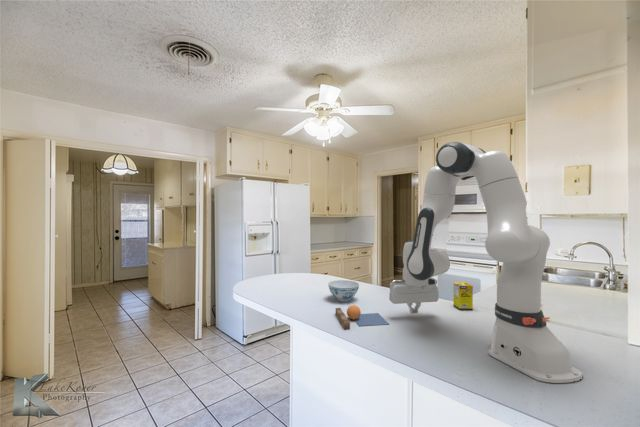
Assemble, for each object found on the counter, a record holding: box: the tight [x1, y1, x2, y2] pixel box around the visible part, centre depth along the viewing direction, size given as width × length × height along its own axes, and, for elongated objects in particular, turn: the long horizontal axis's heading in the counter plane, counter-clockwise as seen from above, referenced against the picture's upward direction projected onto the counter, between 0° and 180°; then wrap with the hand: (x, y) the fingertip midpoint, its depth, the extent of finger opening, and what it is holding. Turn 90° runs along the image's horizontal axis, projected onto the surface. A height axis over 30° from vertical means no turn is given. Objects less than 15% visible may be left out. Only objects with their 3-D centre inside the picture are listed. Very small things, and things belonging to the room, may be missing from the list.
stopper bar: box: [335, 307, 351, 330], centre depth 113 cm, size 16×2×2 cm, turn 9°
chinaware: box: [328, 279, 360, 303], centre depth 141 cm, size 15×15×8 cm
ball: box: [346, 304, 362, 321], centre depth 115 cm, size 6×6×6 cm
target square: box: [354, 312, 390, 327], centre depth 115 cm, size 12×12×1 cm
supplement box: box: [453, 281, 474, 311], centre depth 129 cm, size 6×6×11 cm
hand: (413, 313), depth 118 cm, fingers closed
